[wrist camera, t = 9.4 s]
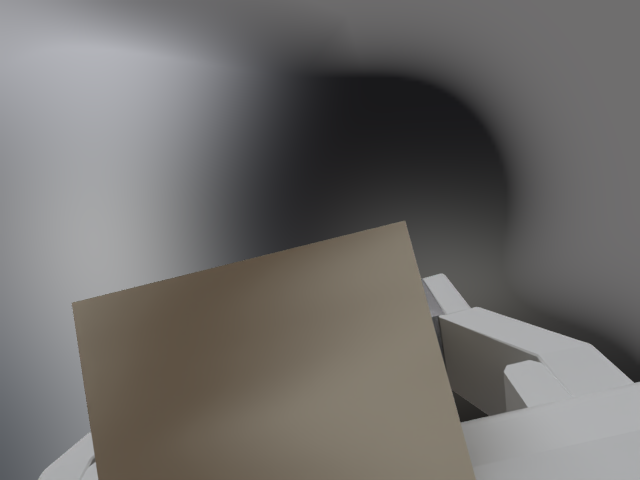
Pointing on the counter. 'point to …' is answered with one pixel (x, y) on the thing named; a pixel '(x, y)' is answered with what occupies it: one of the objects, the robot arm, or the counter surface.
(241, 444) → the bar
